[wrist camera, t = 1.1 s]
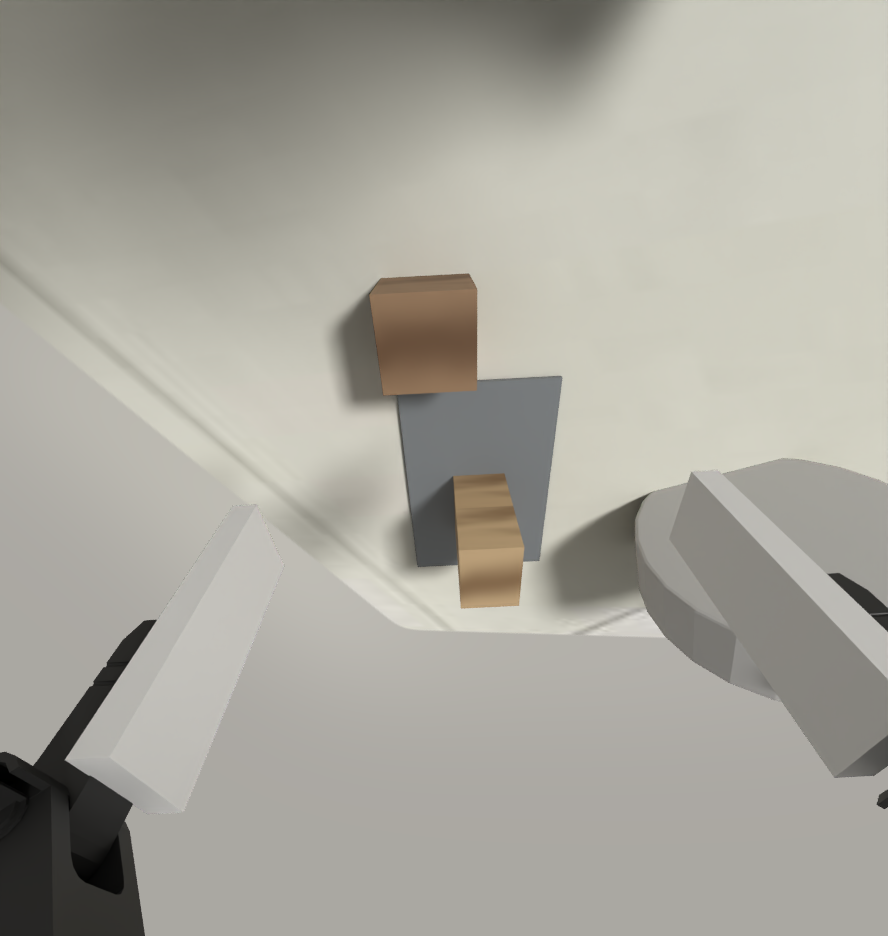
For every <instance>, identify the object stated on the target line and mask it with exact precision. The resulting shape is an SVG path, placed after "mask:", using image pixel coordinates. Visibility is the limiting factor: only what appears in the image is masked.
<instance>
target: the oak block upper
mask: <svg viewBox="0 0 888 936" xmlns="http://www.w3.org/2000/svg"><path fill="white" fill-rule="evenodd" d="M456 528H457V555H458V574H459V588H460V602H461V608H480V607H500V606H519V599H520V588H521V577H522V567H523V556H524V544H523V540H522V537H521V533H520V529H519V526H518V522H517V518H516V514H515V511H514V507H513V506H499V507H479V508H460V509H456Z"/></svg>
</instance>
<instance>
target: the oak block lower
mask: <svg viewBox="0 0 888 936" xmlns="http://www.w3.org/2000/svg"><path fill="white" fill-rule="evenodd" d="M453 482H454V508H455V531H456V545H457V528H456V509H460V508H479V507H499V506H513V503H512V500H511V496H510V492H509V488H508V485H507V481H506V477H505V474H504V473H501V474H482V475H462V476H453ZM457 560H458V555H457Z"/></svg>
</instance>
